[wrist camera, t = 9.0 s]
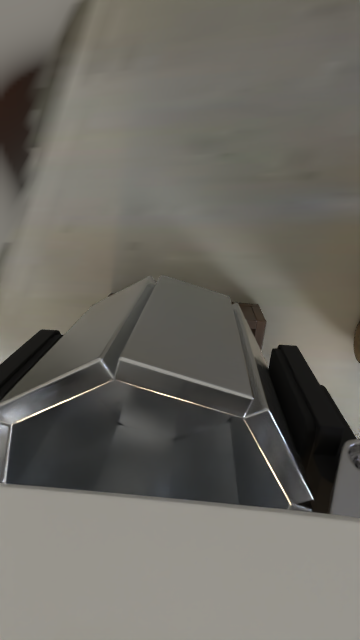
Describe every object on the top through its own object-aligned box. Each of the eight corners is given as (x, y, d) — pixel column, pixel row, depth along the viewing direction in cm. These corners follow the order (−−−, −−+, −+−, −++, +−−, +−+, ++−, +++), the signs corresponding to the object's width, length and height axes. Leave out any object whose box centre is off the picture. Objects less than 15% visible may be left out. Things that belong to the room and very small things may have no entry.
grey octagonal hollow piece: (209, 244, 10) (215, 304, 5) (286, 402, 12) (348, 563, 7) (44, 329, 11) (-86, 443, 6) (137, 455, 13) (97, 618, 8)
